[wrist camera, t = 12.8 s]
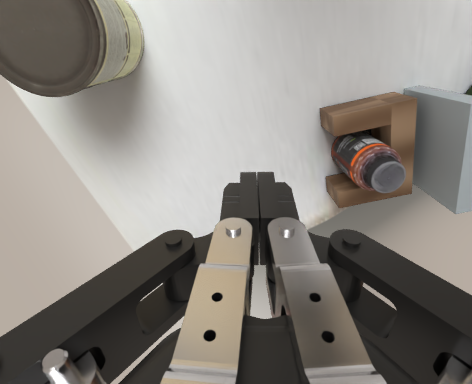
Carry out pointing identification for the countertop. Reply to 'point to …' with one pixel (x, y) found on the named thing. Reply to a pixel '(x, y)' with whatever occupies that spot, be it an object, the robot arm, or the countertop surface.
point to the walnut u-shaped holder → (382, 128)
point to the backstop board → (443, 146)
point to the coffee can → (67, 44)
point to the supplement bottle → (368, 162)
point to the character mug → (469, 91)
